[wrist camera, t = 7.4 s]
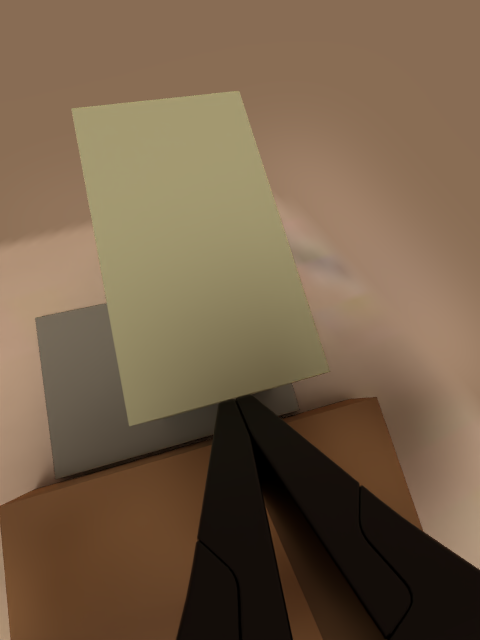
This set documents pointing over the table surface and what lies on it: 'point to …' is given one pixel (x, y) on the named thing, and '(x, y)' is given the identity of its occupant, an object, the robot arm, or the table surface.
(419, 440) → the table surface
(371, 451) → the panel
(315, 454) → the robot arm
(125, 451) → the mat
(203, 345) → the card box
